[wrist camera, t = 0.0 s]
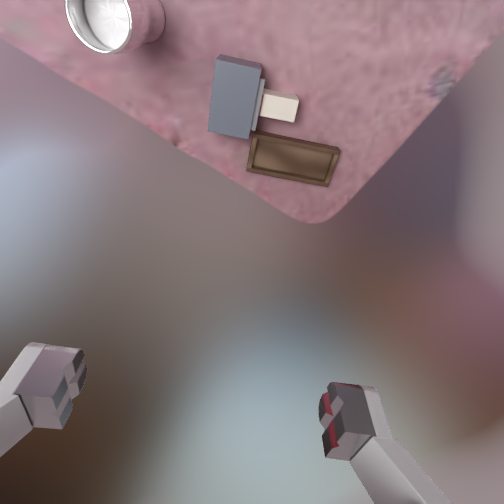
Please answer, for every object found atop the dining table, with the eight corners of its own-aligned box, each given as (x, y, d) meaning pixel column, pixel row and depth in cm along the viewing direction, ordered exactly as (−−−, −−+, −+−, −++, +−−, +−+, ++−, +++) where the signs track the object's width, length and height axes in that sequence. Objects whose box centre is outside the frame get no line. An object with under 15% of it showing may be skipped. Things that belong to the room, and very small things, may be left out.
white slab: (225, 80, 49) (222, 85, 45) (296, 94, 50) (299, 100, 46) (223, 101, 50) (220, 108, 47) (291, 114, 51) (293, 122, 48)
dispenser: (220, 54, 46) (215, 59, 41) (266, 64, 47) (267, 70, 42) (212, 120, 52) (207, 131, 47) (254, 128, 52) (253, 140, 47)
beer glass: (165, -16, 42) (127, -29, 30) (171, 47, 46) (139, 58, 34) (112, -19, 42) (51, -33, 30) (122, 44, 46) (73, 55, 34)
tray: (253, 129, 53) (253, 133, 51) (338, 147, 54) (340, 151, 52) (246, 166, 56) (246, 171, 55) (325, 182, 58) (327, 186, 56)
